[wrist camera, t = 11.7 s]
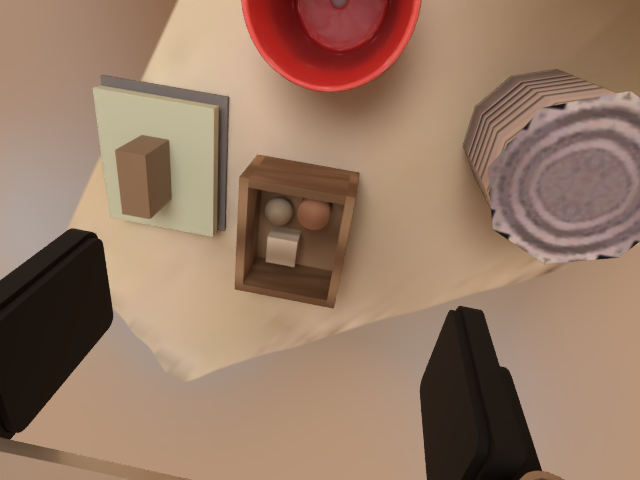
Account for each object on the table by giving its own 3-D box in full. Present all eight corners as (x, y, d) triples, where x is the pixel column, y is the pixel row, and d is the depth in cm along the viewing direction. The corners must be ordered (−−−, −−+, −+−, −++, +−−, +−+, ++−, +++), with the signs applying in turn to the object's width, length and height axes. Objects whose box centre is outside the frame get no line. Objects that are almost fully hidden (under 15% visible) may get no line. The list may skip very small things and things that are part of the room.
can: (538, 216, 41) (591, 291, 30) (436, 161, 39) (455, 220, 29) (634, 108, 35) (739, 155, 25) (519, 40, 34) (579, 59, 23)
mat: (102, 74, 39) (100, 75, 39) (229, 96, 39) (227, 97, 38) (118, 209, 46) (116, 210, 46) (225, 229, 46) (224, 230, 45)
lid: (106, 83, 39) (58, 98, 33) (222, 103, 39) (194, 121, 33) (121, 208, 46) (83, 238, 40) (220, 226, 45) (196, 260, 39)
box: (257, 154, 41) (239, 177, 36) (359, 172, 41) (355, 198, 35) (250, 257, 47) (234, 289, 42) (339, 274, 47) (333, 308, 42)
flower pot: (283, -97, 31) (246, -131, 23) (429, -68, 31) (446, -92, 23) (267, 57, 37) (233, 74, 28) (392, 82, 36) (395, 108, 28)
